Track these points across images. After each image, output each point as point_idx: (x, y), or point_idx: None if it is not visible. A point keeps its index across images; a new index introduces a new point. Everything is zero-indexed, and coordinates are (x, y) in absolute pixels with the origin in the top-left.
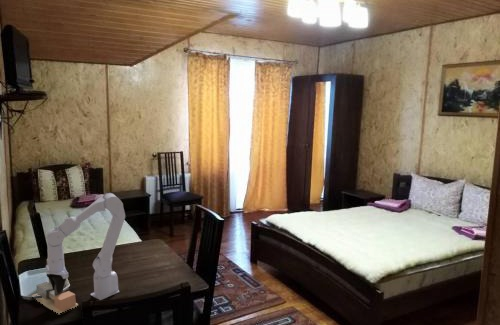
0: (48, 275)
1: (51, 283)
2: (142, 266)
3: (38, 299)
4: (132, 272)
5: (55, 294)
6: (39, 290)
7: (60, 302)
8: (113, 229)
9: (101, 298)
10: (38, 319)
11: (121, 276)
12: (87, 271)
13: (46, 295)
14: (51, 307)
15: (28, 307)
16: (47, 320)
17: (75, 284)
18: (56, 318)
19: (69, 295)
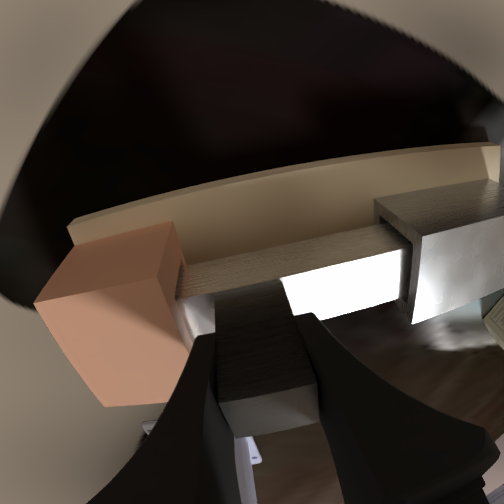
0: (415, 500)
1: (346, 369)
2: (331, 501)
3: (424, 155)
4: (317, 491)
5: (262, 294)
6: (490, 199)
7: (44, 287)
8: None
9: (147, 429)
10: (91, 72)
11: (320, 477)
12: (468, 401)
13: (392, 217)
14: (189, 196)
15: (377, 59)
16: (36, 133)
17: (425, 368)
18: (32, 193)
19: (99, 379)
